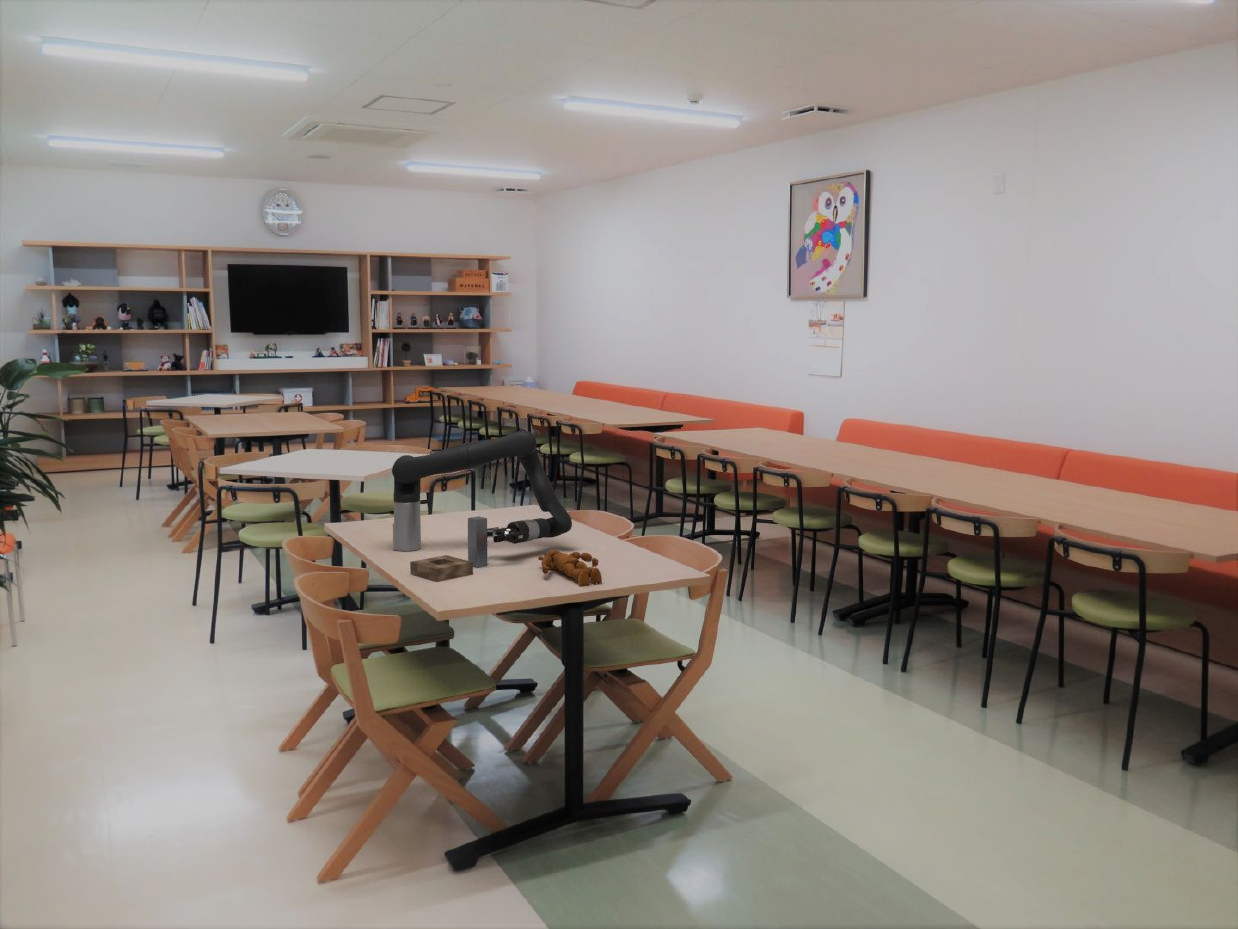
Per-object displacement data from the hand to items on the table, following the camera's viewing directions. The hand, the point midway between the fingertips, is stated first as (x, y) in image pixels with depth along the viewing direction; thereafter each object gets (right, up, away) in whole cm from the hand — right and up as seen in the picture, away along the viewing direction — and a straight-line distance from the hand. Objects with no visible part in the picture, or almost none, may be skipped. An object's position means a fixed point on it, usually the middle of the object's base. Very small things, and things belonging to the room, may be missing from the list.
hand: (486, 537), depth 326 cm
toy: (+28, -11, -13) cm, 33 cm away
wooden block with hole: (-12, -11, -14) cm, 21 cm away
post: (-2, -9, -2) cm, 10 cm away
